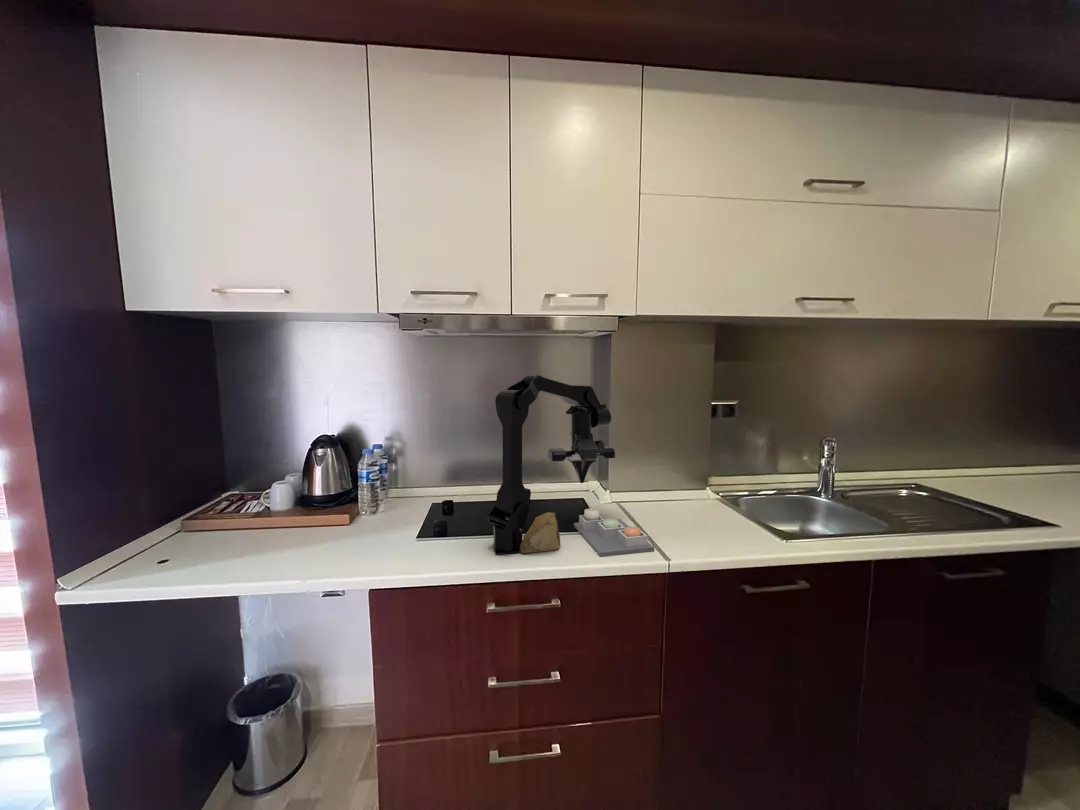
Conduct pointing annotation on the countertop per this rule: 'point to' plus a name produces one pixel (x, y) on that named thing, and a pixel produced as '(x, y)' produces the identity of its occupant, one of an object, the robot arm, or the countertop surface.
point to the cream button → (591, 514)
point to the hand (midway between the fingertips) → (581, 482)
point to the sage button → (610, 523)
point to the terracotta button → (632, 531)
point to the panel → (611, 538)
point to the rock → (542, 534)
